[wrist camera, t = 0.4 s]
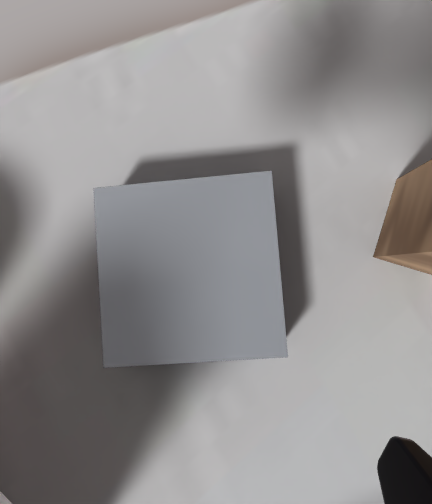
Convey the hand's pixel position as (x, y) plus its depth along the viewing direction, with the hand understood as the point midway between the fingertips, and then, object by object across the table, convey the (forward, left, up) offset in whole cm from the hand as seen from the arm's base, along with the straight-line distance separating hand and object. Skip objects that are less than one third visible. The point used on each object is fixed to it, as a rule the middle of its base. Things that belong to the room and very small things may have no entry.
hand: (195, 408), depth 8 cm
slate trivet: (+4, 0, -13) cm, 14 cm away
